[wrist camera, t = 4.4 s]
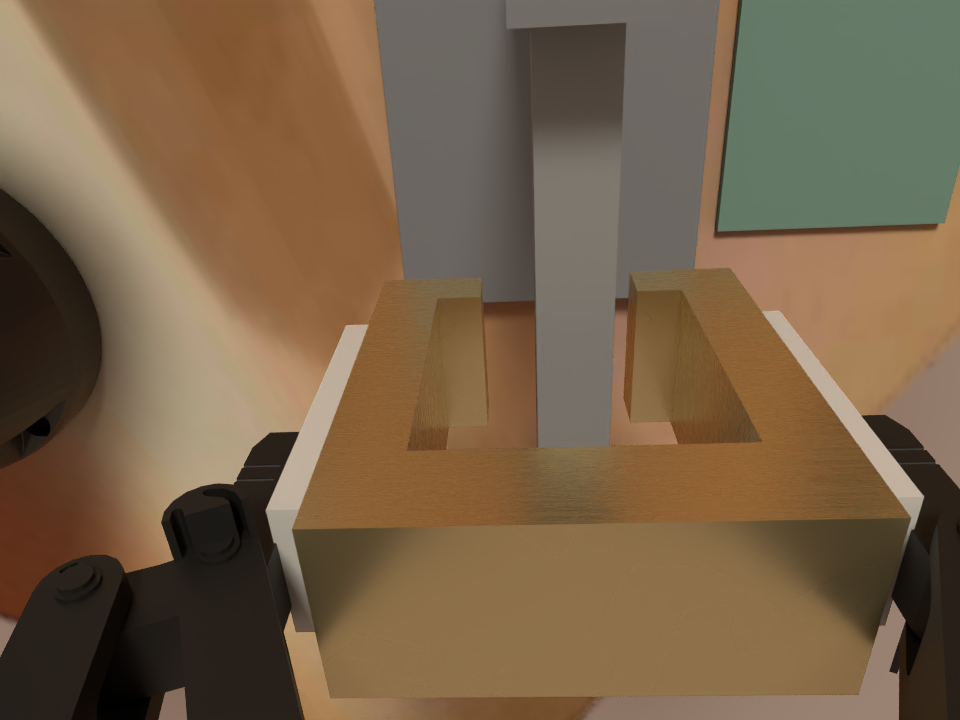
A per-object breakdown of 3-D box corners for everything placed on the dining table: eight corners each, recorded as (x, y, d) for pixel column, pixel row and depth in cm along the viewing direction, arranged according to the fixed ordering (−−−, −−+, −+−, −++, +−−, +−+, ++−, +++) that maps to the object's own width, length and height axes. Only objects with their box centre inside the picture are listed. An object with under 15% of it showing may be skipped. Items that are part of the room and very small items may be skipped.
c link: (400, 403, 20) (330, 698, 12) (385, 280, 18) (291, 529, 10) (714, 395, 19) (858, 695, 11) (730, 268, 18) (911, 518, 10)
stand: (410, 293, 32) (312, 610, 17) (364, -142, 25) (100, -327, 9) (685, 284, 32) (858, 607, 16) (725, -167, 24) (1136, -416, 8)
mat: (715, 228, 30) (717, 231, 30) (740, -15, 26) (744, -15, 26) (939, 220, 30) (944, 223, 29) (1003, -30, 25) (1010, -30, 25)
